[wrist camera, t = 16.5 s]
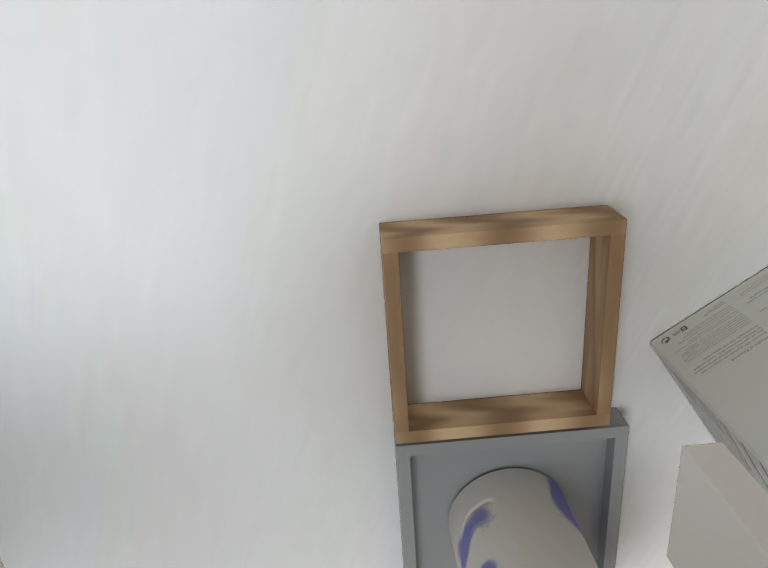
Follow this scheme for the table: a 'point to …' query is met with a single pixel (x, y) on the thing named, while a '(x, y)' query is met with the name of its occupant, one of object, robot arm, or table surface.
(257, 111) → the table surface
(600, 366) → the frame
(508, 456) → the tray
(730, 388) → the supplement box
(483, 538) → the container
